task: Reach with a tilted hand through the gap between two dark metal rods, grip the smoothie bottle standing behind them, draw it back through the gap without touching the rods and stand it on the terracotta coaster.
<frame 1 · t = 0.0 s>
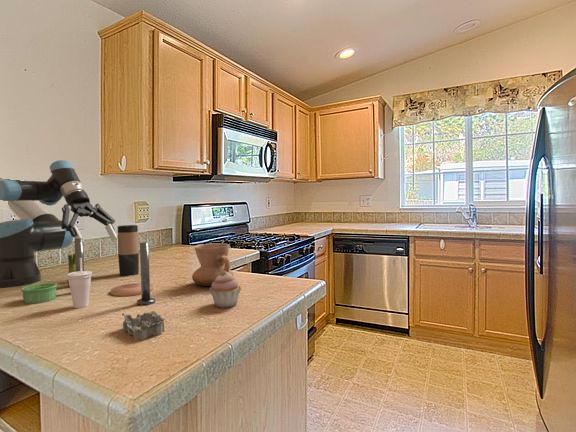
hand: (98, 241, 129), 15 cm above the countertop, tool tilted 35°, fingers open, 13 cm apart
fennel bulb: (76, 286, 125), on the countertop
grey castle model: (144, 332, 81), on the countertop
coaster: (132, 290, 117), on the countertop
smoothie: (81, 306, 100), on the countertop
rod gate: (111, 297, 109), on the countertop
ceramic jug: (213, 285, 124), on the countertop
travel mug: (129, 274, 143), on the countertop
cupcake: (225, 305, 100), on the countertop
ramekin: (40, 300, 107), on the countertop
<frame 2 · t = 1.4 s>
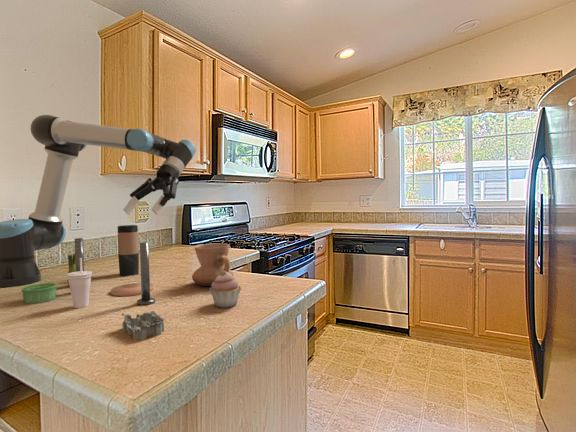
hand: (139, 212, 119), 26 cm above the countertop, tool tilted 45°, fingers open, 13 cm apart
nothing on the countertop moved.
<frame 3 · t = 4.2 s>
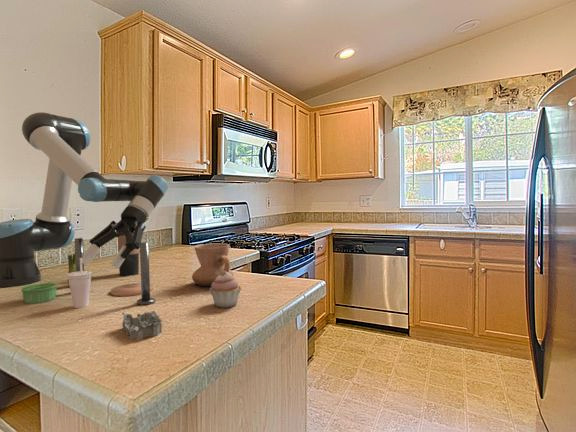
hand: (98, 265, 104), 11 cm above the countertop, tool tilted 45°, fingers open, 13 cm apart
nothing on the countertop moved.
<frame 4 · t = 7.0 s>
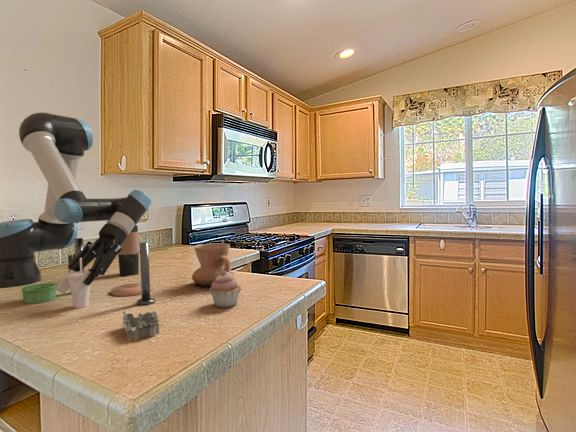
hand: (68, 292, 97), 5 cm above the countertop, tool tilted 45°, fingers closed on smoothie, 6 cm apart
smoothie: (81, 306, 100), on the countertop, touching gripper
everything else where it was.
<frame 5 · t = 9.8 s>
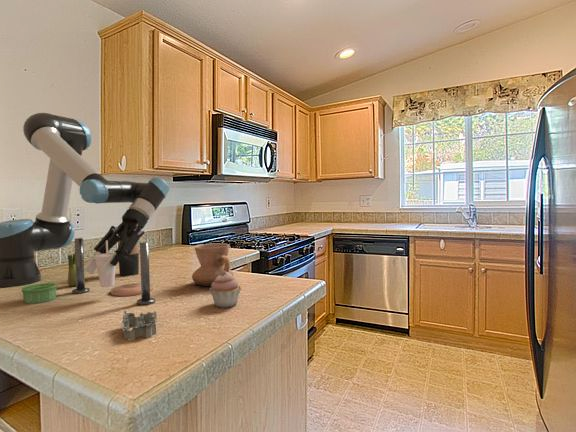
hand: (95, 272, 104), 9 cm above the countertop, tool tilted 45°, fingers closed on smoothie, 6 cm apart
smoothie: (107, 286, 107), point 4 cm above the countertop, touching gripper
when the fingers open (7 cm above the countertop, at t = 12.8 s): smoothie drops 1 cm, resting on coaster.
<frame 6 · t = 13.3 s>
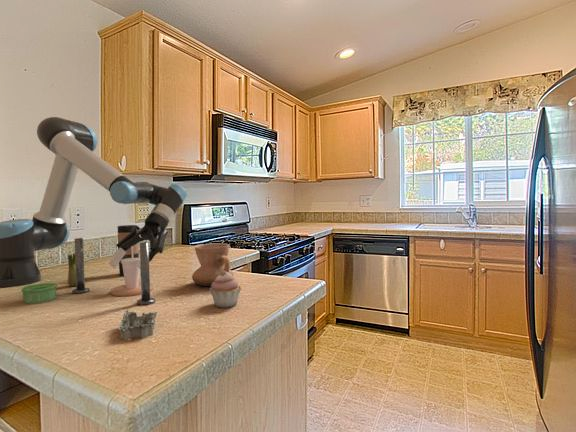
hand: (125, 267, 114), 8 cm above the countertop, tool tilted 45°, fingers open, 13 cm apart
smoothie: (132, 288, 117), point 1 cm above the countertop, touching coaster
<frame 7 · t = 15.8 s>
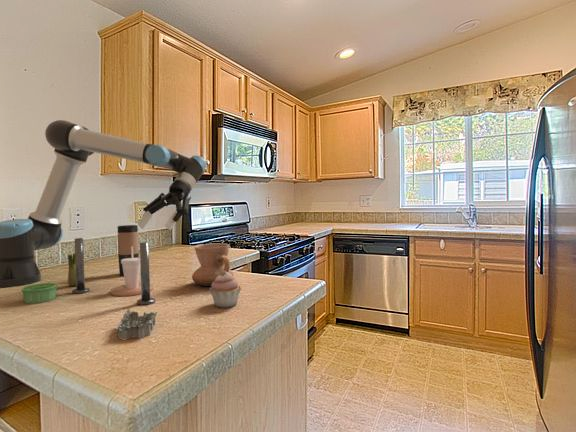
hand: (153, 227, 124), 21 cm above the countertop, tool tilted 45°, fingers open, 13 cm apart
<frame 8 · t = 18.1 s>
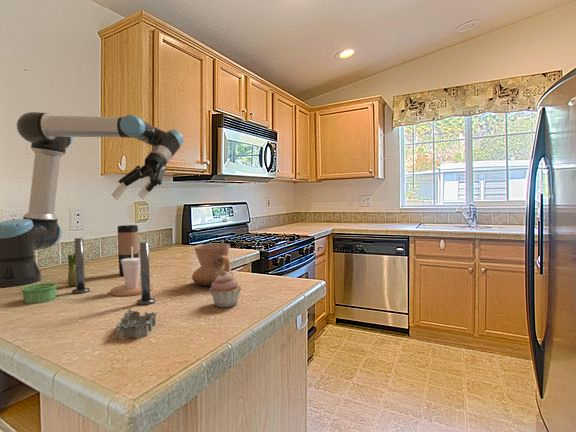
hand: (127, 197, 125), 32 cm above the countertop, tool tilted 45°, fingers open, 13 cm apart
at the end: smoothie inside the target area on the coaster (0.2 cm from its centre), point 0.8 cm above the coaster's base; smoothie tilted 0°; the gripper is holding nothing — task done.
